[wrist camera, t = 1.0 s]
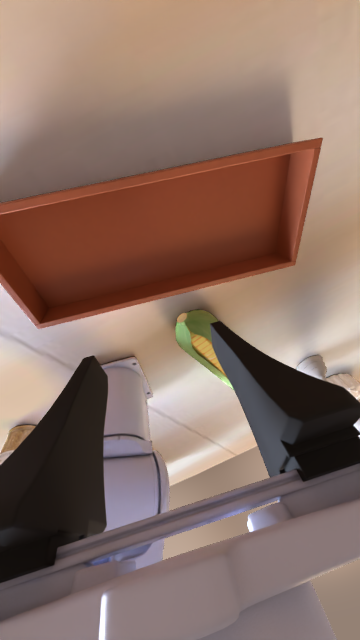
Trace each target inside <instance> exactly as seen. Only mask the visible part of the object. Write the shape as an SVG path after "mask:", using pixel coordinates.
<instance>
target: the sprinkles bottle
mask: <svg viewBox="0 0 360 640" xmlns="http://www.w3.org/2000/svg"><path fill="white" fill-rule="evenodd" d="M35 427H36V426H32V425H22V426H18V427H14V428H13V429H11V430H10V431H9V432H8V436H7V439H6V441H5V444H4V446H3V448H2V450H1V453H0V465H1V464H2V463H3V462H4V461H5V460H6V459H7V458H8V457H9V456H10V455H11V454H12V453H13V451H14V450H15V449H16V448H17V447H18V446H19V445H20V444H21V443H22V442H23V441H24V439H25V438H26V437H27V436H28V435H29V434H30V433H31V432H32V431H33V429H34V428H35Z"/></svg>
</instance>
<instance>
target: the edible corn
mask: <svg viewBox="0 0 360 640" xmlns="http://www.w3.org/2000/svg"><path fill="white" fill-rule="evenodd" d="M217 321H218V320H217V319H216V318H215V317H214V316H213V315H212V314H210V313H209V312H207V311H203V310H199V309H197V310H192V311H189V312H187V313H183V314H180V316H179V317H178V318H177V323H176V328H175V331H176V341H177V342H178V344H179V346H180V347H181V348H182V349H183V350H184V351H185V352H187V353H188V354H189V355H190V356H192V357H193V358H194V359H196V360H197V361H198V362H200V363H201V364H202V365H204V366H205V367H206V368H207V369H209V370H210V371H211V372H212V373H214V374H215V375H216V376H217V377H219V378H220V379H221V380H222V381H223V382H225V383H226V384H227V385H228V386H229V387H231V388H232V389H233V387H232V385H231V383H230V382H229V380H228V378H227V376H226V374H225V372H224V371H223V369H222V367H221V365H220V363H219V361H218V359H217V357H216V354H215V352H214V349H213V347H212V339H211V329H210V323H214V322H217ZM233 390H234V389H233Z"/></svg>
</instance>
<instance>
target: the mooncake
mask: <svg viewBox="0 0 360 640" xmlns="http://www.w3.org/2000/svg"><path fill="white" fill-rule="evenodd" d="M326 379H327V381H328V382H330V383H333V384H336V385H339V386H342V387H344V388H345V389H346V390H347V391H349V392H350V393H351V394H352V395H353V396H354V397H355V398H356V399H357V400H358V399H359V398H360V383H359V382H358V381H356V380H355V379H354V378H353V377H352V376H350V375H349V374H338V375H332V376H330V377H329V378H326Z"/></svg>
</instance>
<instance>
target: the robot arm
mask: <svg viewBox="0 0 360 640" xmlns="http://www.w3.org/2000/svg"><path fill="white" fill-rule="evenodd" d="M210 329H211V339H212V347H213V349H214V352H215V354H216V357H217V359H218V361H219V363H220V365H221V367H222V369H223V371H224V372H225V374H226V376H227V378H228V380H229V382H230V383H231V385H232V387H233V389H234V391H235V393H236V395H237V397H238V399H239V401H240V404H241V406H242V408H243V411H244V413H245V415H246V418H247V420H248V422H249V425H250V427H251V430H252V432H253V435H254V437H255V440H256V442H257V445H258V447H259V450H260V453H261V455H262V457H263V460H264V463H265V466H266V468H267V471H268V474H269V476H270V478H268V479H264V480H262V481H259V482H255V483H252V484H249V485H247V486H243V487H240V488H237V489H234V490H231V491H228V492H225V493H222V494H219V495H216V496H213V497H210V498H207V499H204V500H201V501H198V502H195V503H192V504H188V505H185V506H182V507H180V508H176V509H174V510H170V511H169V502H170V488H169V477H168V471H167V467H166V464H165V461H164V460H163V458H162V457H161V455H160V454H159V452H158V451H152V441H149V440H150V429H149V417H148V405H147V399H149V398H152V397H153V393H152V391H151V389H150V386H149V384H148V382H147V380H146V378H145V375H144V373H143V371H142V369H141V367H140V364H139V362H138V360H137V358H136V357H130V358H127V359H123V360H119V361H115V362H112V363H108V364H104V365H100V364H99V362H98V361H97V359H96V358H95V356H90V357H86V358H84V359H83V360H82V362H81V363H80V365H79V366H78V368H77V369H76V371H75V373H74V374H73V376H72V377H71V379H70V380H69V382H68V384H67V385H66V387H65V388H64V390H63V391H62V393H61V394H60V395H59V397H58V398H57V400H56V401H55V402H54V404H53V405H52V407H51V408H50V409H49V411H48V412H47V413H46V415H45V416H44V417H43V418H42V420H41V421H40V422H39V423H38V425H37V426H36V427H35V428H34V429H33V431H32V432H31V433H30V434H29V435H28V436H27V437H26V438H25V439H24V441H23V442H22V443H21V444H20V445H19V446H18V447H17V448H16V449H15V450H14V451H13V453H12V454H11V455H10V456H9V457H8V458H7V459H6V460H5V461H4V462H3V463H2V464H1V465H0V640H337V639H336V636H335V634H334V632H333V630H332V628H331V625H330V623H329V621H328V619H327V616H326V614H325V612H324V610H323V607H322V605H321V603H320V601H319V599H318V596H317V594H316V592H315V589H314V587H313V585H312V583H311V580H312V579H314V578H316V577H319V576H321V575H323V574H326V573H328V572H331V571H333V570H335V569H338V568H340V567H342V566H345V565H347V564H349V563H351V562H354V561H356V560H358V559H360V437H359V435H360V432H359V431H358V430H357V428H356V427H355V426H354V424H355V423H356V422H357V421H358V420H359V418H360V402H359V401H358V400H357V399H356V398H355V397H354V396H353V395H352V394H351V393H350V392H349V391H347V390H346V389H345V388H344V387H342V386H339V385H336V384H333V383H330V382H327V381H324V380H321V379H318V378H315V377H313V376H310V375H308V374H305V373H303V372H300V371H298V370H296V369H294V368H291V367H289V366H287V365H285V364H283V363H281V362H279V361H277V360H275V359H273V358H271V357H270V356H268V355H266V354H264V353H263V352H261V351H259V350H258V349H256V348H255V347H253V346H252V345H250V344H249V343H247V342H246V341H245V340H243V339H242V338H240V337H239V336H238V335H236V334H235V333H234V332H233V331H231V330H230V329H229V328H228V327H227V326H225V325H224V324H223V323H222V322H220V321H217V322H214V323H210ZM277 500H278V503H275V504H271V505H269V506H267V507H265V508H262V509H260V510H258V511H256V512H254V513H251V514H249V515H248V520H249V521H248V523H247V525H248V528H249V531H250V532H249V533H245V534H242V535H239V536H236V537H233V538H229V539H226V540H223V541H220V542H217V543H213V544H210V545H207V546H204V547H201V548H198V549H195V550H192V551H189V552H186V553H183V554H180V555H177V556H174V557H171V558H168V559H165V560H162V559H163V549H164V538H167V537H170V536H173V535H176V534H179V533H182V532H185V531H188V530H191V529H194V528H197V527H200V526H203V525H206V524H209V523H211V522H215V521H218V520H221V519H224V518H227V517H229V516H233V515H236V514H238V513H241V512H245V511H247V510H250V509H253V508H256V507H259V506H262V505H265V504H268V503H271V502H274V501H277Z"/></svg>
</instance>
